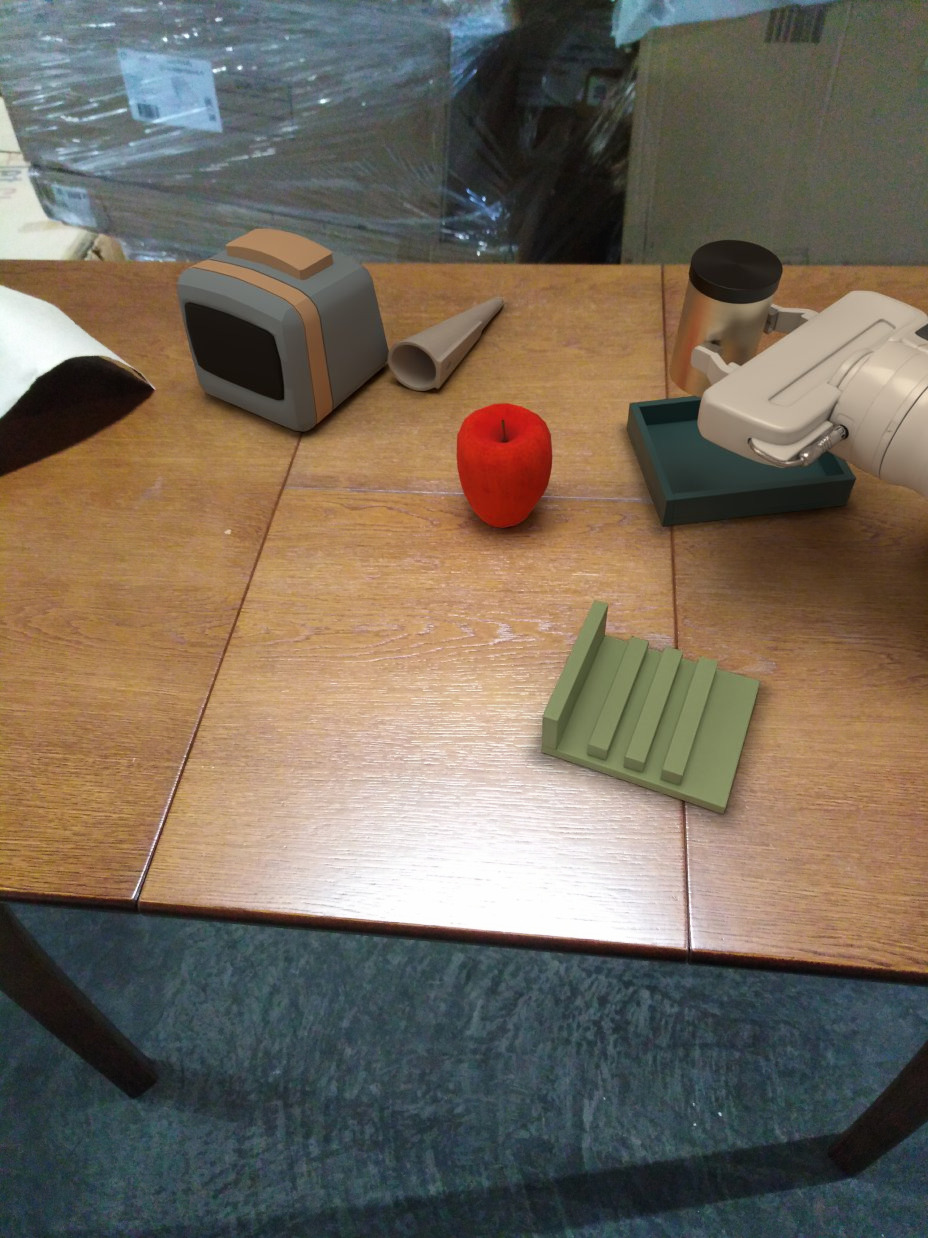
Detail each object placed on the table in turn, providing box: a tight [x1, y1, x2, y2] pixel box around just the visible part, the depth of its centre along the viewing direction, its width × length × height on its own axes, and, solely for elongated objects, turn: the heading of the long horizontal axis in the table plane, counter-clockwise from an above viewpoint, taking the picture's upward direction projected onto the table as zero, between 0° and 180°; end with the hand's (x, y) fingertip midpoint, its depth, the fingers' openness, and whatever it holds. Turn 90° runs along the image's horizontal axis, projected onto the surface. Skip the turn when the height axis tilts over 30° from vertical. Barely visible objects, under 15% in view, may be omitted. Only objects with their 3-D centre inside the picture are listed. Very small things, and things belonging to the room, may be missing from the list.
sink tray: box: [626, 395, 857, 527], centre depth 87 cm, size 18×15×3 cm
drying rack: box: [540, 599, 761, 814], centre depth 68 cm, size 14×12×5 cm
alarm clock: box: [176, 228, 390, 433], centre depth 95 cm, size 16×16×16 cm
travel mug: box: [669, 239, 784, 398], centre depth 72 cm, size 7×7×10 cm
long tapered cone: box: [387, 296, 505, 392], centre depth 103 cm, size 6×6×19 cm
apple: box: [456, 402, 553, 529], centre depth 82 cm, size 9×9×11 cm
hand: (728, 331), depth 72 cm, fingers closed on travel mug, 6 cm apart
